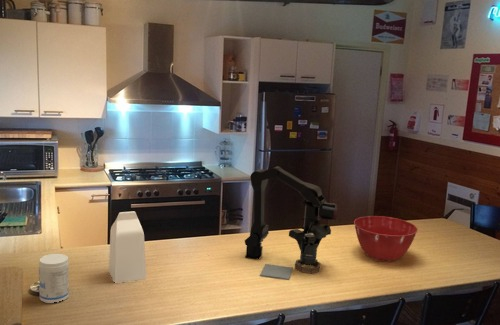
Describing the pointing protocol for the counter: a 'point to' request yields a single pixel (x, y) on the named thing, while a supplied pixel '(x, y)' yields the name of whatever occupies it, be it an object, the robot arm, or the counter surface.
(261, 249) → the robot arm
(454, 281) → the counter surface
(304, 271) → the walnut collar
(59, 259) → the supplement tub
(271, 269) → the rubber mat
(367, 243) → the mixing bowl
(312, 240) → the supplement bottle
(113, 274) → the milk
